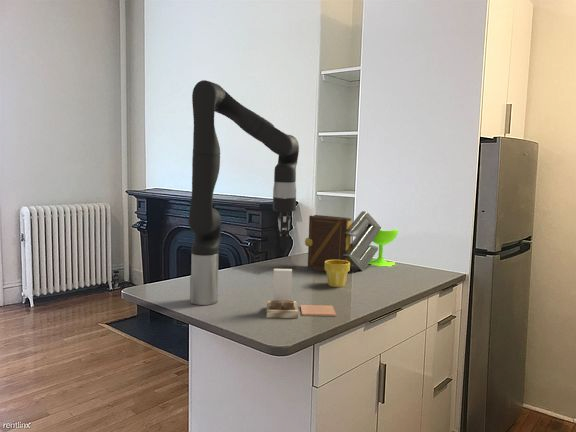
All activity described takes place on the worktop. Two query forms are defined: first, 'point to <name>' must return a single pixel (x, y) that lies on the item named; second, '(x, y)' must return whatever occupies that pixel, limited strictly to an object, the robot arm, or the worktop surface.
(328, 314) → the terracotta tile
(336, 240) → the wooden crate
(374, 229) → the emblem
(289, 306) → the walnut offcut right
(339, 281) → the plant pot
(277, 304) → the walnut offcut left
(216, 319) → the worktop surface
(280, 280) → the light grey flat block
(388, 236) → the wineglass
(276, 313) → the birch rack
